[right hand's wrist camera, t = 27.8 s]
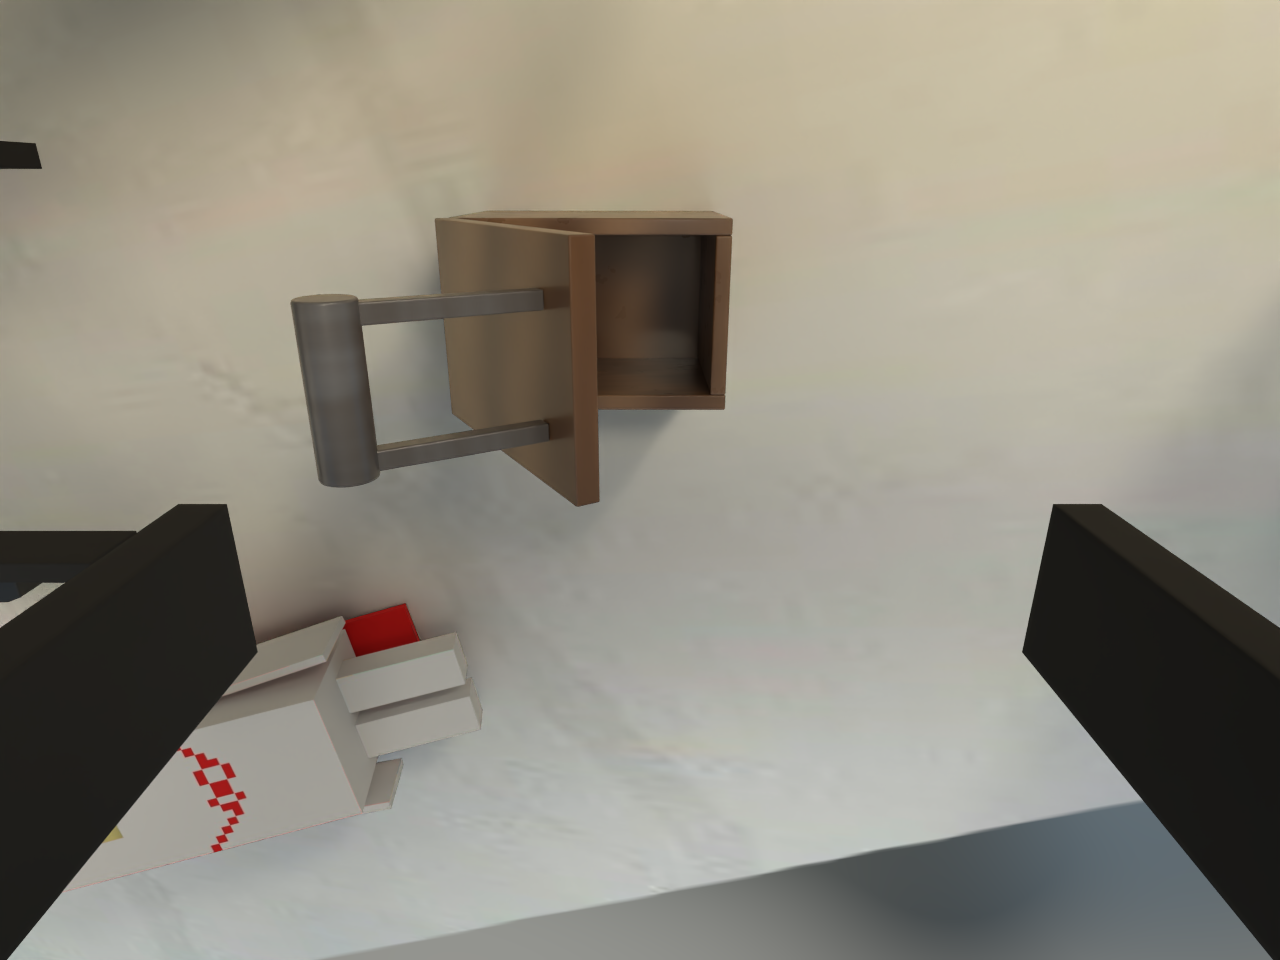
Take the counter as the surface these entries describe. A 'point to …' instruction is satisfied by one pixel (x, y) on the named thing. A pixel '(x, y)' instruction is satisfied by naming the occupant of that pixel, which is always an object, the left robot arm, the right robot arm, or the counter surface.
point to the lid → (472, 359)
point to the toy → (297, 742)
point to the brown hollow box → (653, 302)
